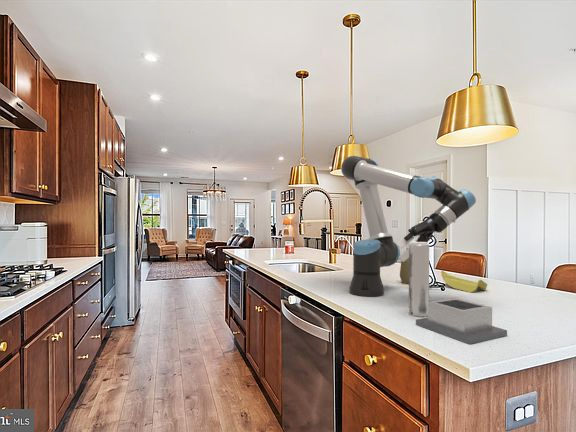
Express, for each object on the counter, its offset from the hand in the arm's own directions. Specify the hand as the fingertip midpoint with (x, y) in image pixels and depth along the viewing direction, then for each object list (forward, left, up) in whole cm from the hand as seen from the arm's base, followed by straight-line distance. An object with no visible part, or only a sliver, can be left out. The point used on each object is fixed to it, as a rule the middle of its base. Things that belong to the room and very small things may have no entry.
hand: (399, 253), depth 130 cm
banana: (-9, +50, -20) cm, 54 cm away
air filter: (+15, -6, -20) cm, 25 cm away
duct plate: (+32, -8, -19) cm, 38 cm away
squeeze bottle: (-29, +34, -20) cm, 49 cm away
